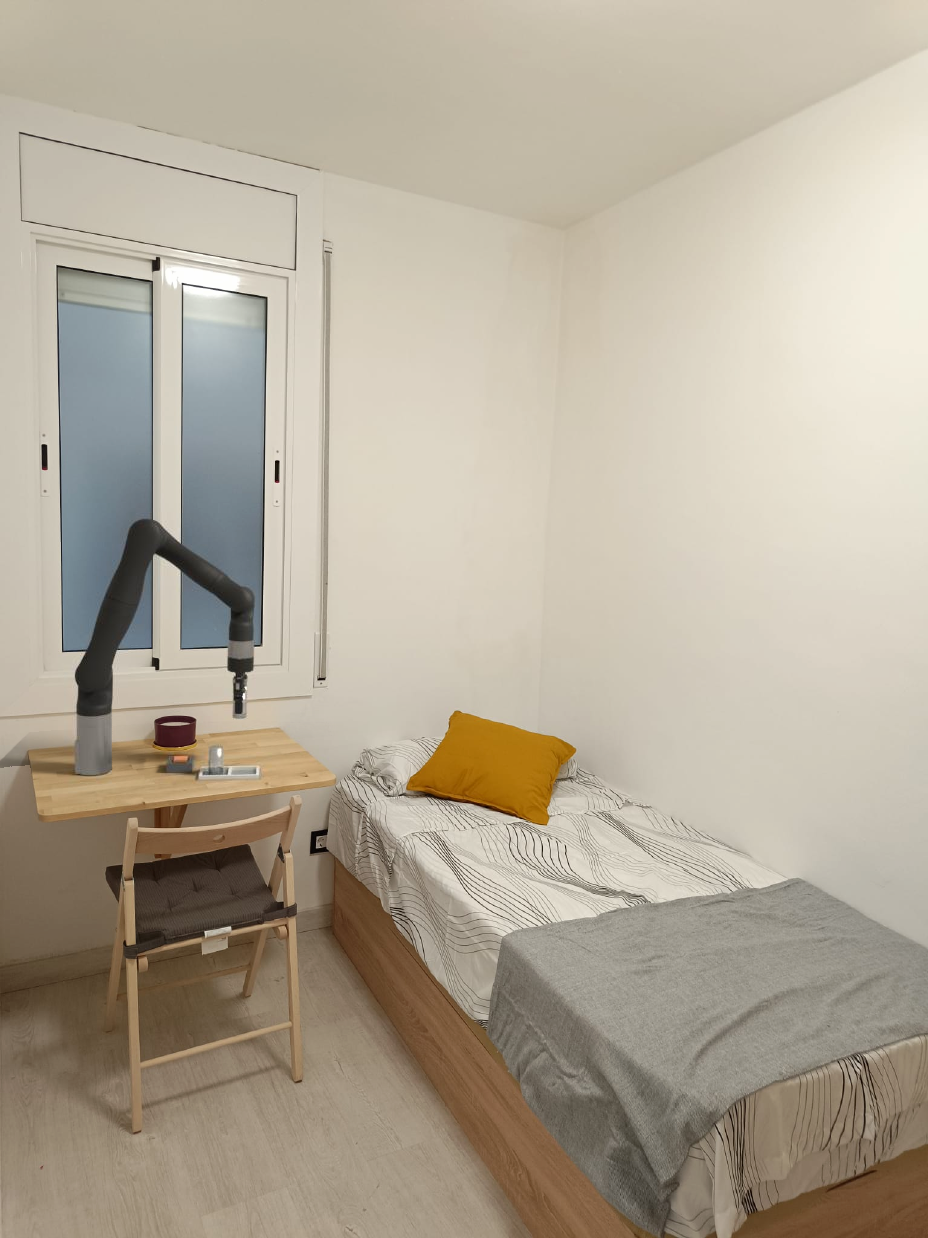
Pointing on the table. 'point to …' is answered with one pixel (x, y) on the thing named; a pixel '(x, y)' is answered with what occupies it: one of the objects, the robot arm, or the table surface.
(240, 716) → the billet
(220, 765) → the cylinder
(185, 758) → the button
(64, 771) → the table surface
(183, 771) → the button housing
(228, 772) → the white divided tray
